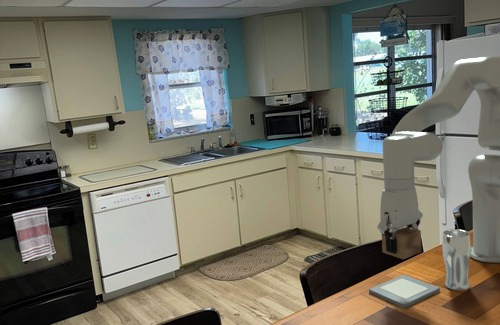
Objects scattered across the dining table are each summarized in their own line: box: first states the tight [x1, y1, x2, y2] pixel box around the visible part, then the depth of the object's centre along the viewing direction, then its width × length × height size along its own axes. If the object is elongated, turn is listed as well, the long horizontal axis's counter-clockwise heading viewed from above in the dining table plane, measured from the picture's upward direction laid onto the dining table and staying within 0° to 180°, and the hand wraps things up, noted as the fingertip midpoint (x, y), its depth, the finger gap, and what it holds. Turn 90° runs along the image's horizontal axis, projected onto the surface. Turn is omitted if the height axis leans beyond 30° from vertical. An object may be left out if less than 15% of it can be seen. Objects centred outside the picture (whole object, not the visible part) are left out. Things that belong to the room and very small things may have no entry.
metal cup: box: [441, 228, 472, 292], centre depth 125 cm, size 7×7×15 cm
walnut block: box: [381, 226, 422, 260], centre depth 123 cm, size 7×7×6 cm
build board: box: [368, 274, 441, 309], centre depth 125 cm, size 14×12×1 cm
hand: (401, 248), depth 123 cm, fingers closed on walnut block, 7 cm apart
